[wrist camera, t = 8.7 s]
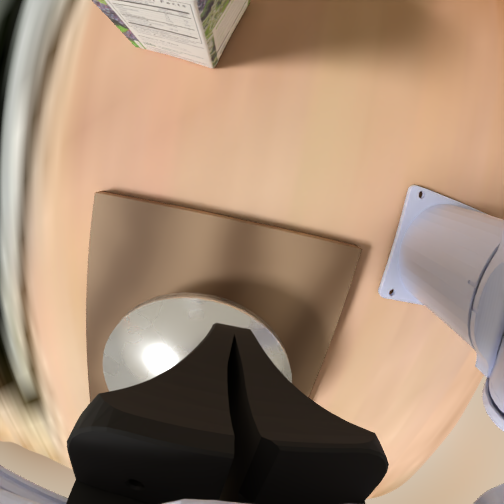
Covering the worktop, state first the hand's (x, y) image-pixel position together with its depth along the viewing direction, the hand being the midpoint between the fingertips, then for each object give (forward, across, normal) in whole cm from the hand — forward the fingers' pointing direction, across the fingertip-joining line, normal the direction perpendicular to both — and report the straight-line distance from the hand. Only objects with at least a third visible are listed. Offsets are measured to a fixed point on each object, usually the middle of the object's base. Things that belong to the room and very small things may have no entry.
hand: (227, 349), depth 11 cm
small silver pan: (+9, +2, +9) cm, 13 cm away
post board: (+10, +1, +7) cm, 12 cm away
